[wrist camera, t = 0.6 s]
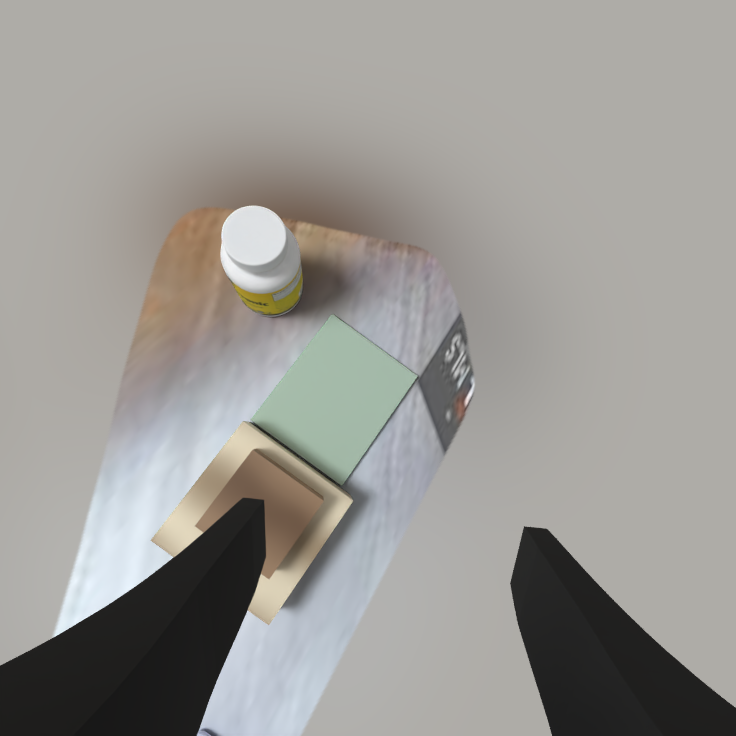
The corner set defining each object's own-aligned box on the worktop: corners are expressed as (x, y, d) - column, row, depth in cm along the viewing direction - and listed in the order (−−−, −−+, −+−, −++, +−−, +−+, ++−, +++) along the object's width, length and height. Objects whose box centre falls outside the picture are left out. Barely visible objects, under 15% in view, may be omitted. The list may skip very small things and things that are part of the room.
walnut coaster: (272, 569, 29) (269, 579, 27) (202, 519, 29) (194, 526, 27) (323, 496, 30) (323, 501, 28) (256, 448, 30) (252, 449, 28)
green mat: (341, 485, 33) (341, 485, 33) (251, 420, 33) (250, 419, 33) (416, 376, 35) (417, 376, 35) (331, 315, 35) (332, 313, 35)
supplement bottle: (225, 284, 35) (189, 228, 25) (274, 245, 36) (258, 176, 26) (268, 331, 34) (249, 292, 25) (316, 291, 35) (316, 238, 26)
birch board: (273, 607, 31) (268, 625, 28) (166, 530, 31) (150, 540, 28) (350, 494, 33) (353, 500, 30) (249, 422, 33) (243, 421, 30)
